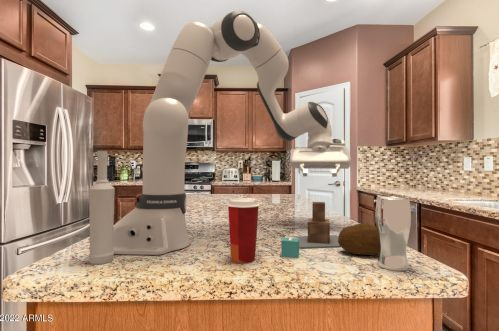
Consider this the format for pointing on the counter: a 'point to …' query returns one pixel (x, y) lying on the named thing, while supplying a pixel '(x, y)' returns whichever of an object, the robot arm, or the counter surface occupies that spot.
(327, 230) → the walnut cover
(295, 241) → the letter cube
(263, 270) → the counter surface
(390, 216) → the beer glass
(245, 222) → the paper cup
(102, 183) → the bottle
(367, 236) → the potato
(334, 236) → the grey mat
